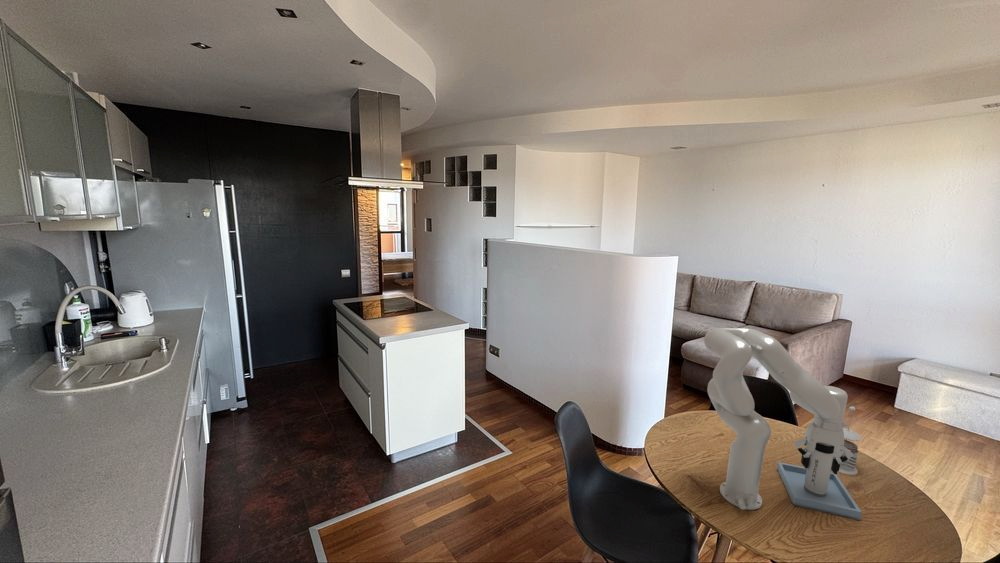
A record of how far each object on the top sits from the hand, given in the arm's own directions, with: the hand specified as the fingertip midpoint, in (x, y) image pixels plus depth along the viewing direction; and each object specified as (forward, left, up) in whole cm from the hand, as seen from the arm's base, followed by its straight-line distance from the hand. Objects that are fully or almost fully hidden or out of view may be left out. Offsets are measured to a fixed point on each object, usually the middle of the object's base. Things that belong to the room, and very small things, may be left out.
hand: (819, 468), depth 139 cm
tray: (0, 0, -9) cm, 9 cm away
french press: (+21, -14, -10) cm, 27 cm away
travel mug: (0, 0, -9) cm, 9 cm away
